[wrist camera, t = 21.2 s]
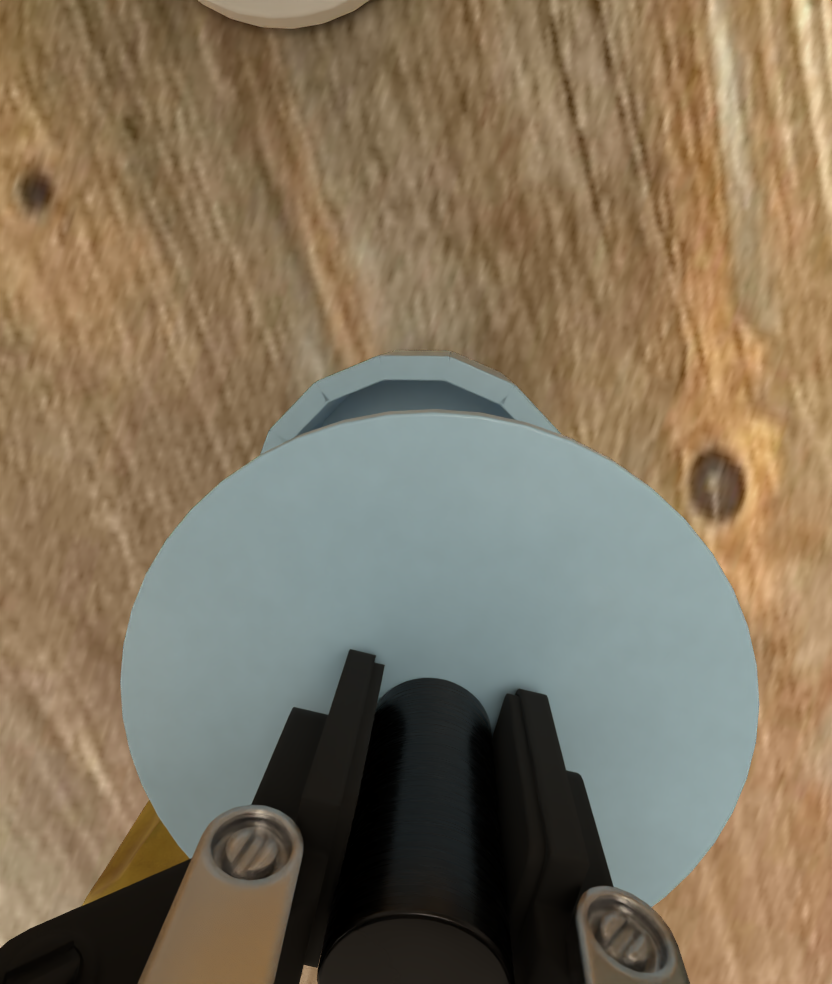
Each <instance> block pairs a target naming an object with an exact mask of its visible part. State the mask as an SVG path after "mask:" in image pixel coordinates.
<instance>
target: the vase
mask: <svg viewBox="0 0 832 984" xmlns="http://www.w3.org/2000/svg"><path fill="white" fill-rule="evenodd" d="M188 859H190V858H189V857H188V856H187V855H186V854H185V853H184V851H183V850H182V849H181V848H180V847H179V846H178V844H177V843H176V842H175V840H174V839H173V837H172V836H171V834H170V833H169V831H168V830H167V828H166V827H165V826H164V824H163V823H162V821H161V820H160V818H159V817H158V815H157V813H156V811H155V809H154V807H153V805H152V803H151V802H150V800H149V801H148V803H147V804H146V806H145V807H144V809H143V810H142V812H141V814H140V815H139V817H138V818H137V820H136V821H135V823H134V825H133V826H132V828H131V829H130V831H129V832H128V834H127V836H126V837H125V839H124V840H123V842H122V844H121V845H120V847H119V848H118V850H117V851H116V853H115V854H114V856H113V858H112V859H111V861H110V862H109V864H108V865H107V867H106V868H105V870H104V872H103V873H102V875H101V876H100V878H99V879H98V881H97V882H96V884H95V885H94V887H93V888H92V889H91V891H90V893H89V894H88V896H87V898H86V899H85V901H84V903H83V905H85V904H88V903H90V902H92V901H95V900H97V899H99V898H101V897H104V896H106V895H108V894H111V893H113V892H115V891H117V890H120V889H122V888H124V887H127V886H129V885H131V884H133V883H136V882H138V881H140V880H143V879H145V878H147V877H149V876H152V875H154V874H156V873H159V872H161V871H163V870H165V869H168V868H170V867H172V866H175V865H177V864H179V863H182V862H184V861H186V860H188ZM83 905H82V906H83Z"/></svg>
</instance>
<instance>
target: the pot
mask: <svg viewBox="0 0 832 984" xmlns="http://www.w3.org/2000/svg"><path fill="white" fill-rule="evenodd" d="M425 409H441V410H454V411H467V412H480V413H485V414H490V415H495V416H499V417H504V418H509V419H514V420H518V421H523V422H527V423H530V424H533V425H536V426H538V427H541V428H544V429H547V430H550V431H553V432H555V433H558V434H561V433H560V432H559V431H558V430H557V429H556V428H555V427H554V426H553V425H552V424H551V422H550V421H549V420H548V419H547V418H546V417H545V416H544V415H543V414H542V413H541V412H540V411H539V410H538V409H537V407H536V406H535V405H534V404H533V403H532V402H531V401H530V400H529V399H528V398H527V397H526V396H525V395H524V394H523V393H522V391H521V390H520V389H519V388H518V387H517V386H516V385H515V384H514V383H512V382H511V381H510V380H509V379H508V378H507V377H505V376H504V375H503V374H502V373H500V372H498V371H496V370H494V369H492V368H489V367H487V366H485V365H482V364H480V363H478V362H476V361H474V360H471V359H469V358H466V357H464V356H462V355H460V354H457V353H455V352H453V351H431V350H396V351H392V352H388V353H385V354H382V355H379V356H376V357H373V358H371V359H369V360H366V361H364V362H361V363H359V364H357V365H354V366H352V367H349V368H347V369H345V370H342V371H340V372H337V373H335V374H333V375H330V376H328V377H325V378H323V379H321V380H318V381H317V382H315V383H313V384H312V386H311V387H310V388H309V389H308V390H307V391H306V392H305V393H304V394H303V395H302V396H301V397H300V398H299V399H298V400H297V401H296V402H295V403H294V404H293V405H292V406H291V407H290V409H289V410H288V411H287V412H286V413H285V414H284V415H283V416H282V417H281V418H280V419H279V420H278V421H277V422H276V423H275V424H274V425H273V426H272V427H271V428H270V430H269V431H268V434H267V437H266V440H265V443H264V445H263V448H262V451H261V454H263V453H264V452H266V451H268V450H270V449H272V448H274V447H276V446H278V445H280V444H282V443H284V442H287V441H289V440H291V439H293V438H295V437H297V436H299V435H301V434H303V433H306V432H309V431H312V430H315V429H318V428H321V427H324V426H327V425H330V424H333V423H336V422H339V421H342V420H346V419H351V418H357V417H362V416H367V415H373V414H378V413H383V412H388V411H406V410H425ZM261 454H260V455H261Z"/></svg>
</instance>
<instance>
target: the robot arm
mask: <svg viewBox="0 0 832 984" xmlns="http://www.w3.org/2000/svg"><path fill="white" fill-rule="evenodd" d="M198 1H199V2H200V3H201V4H203V5H205V6H207V7H209V8H211V9H213V10H215V11H217V12H218V13H220V14H222V15H224V16H226V17H228V18H230V19H233V20H237V21H240V22H244V23H248V24H251V25H255V26H258V27H265V28H285V29H295V28H301V27H306V26H312V25H318V24H324V23H326V22H329V21H331V20H333V19H336V18H338V17H341V16H343V15H345V14H348V13H350V12H353V11H355V10H356V9H357V8H359V7H360V6H362V5H363V4H365V3H366V2H368V1H369V0H198ZM375 658H376V655H373V654H369V653H365V652H361V651H356V650H352V649H349V652H348V655H347V658H346V662H345V665H344V668H343V671H342V674H341V677H340V680H339V683H338V686H337V689H336V692H335V696H334V699H333V702H332V705H331V708H330V711H329V714H328V715H327V714H323V713H318V712H314V711H310V710H306V709H301V708H297V707H293V708H292V710H291V712H290V714H289V717H288V719H287V721H286V724H285V726H284V728H283V731H282V733H281V735H280V738H279V740H278V743H277V745H276V747H275V750H274V752H273V754H272V757H271V759H270V761H269V764H268V766H267V769H266V771H265V773H264V776H263V778H262V780H261V783H260V785H259V787H258V790H257V792H256V794H255V797H254V799H253V802H252V804H251V805H245V806H240V807H235V808H232V809H230V810H228V811H226V812H223V813H221V814H220V815H219V816H218V817H216V818H215V819H214V820H213V821H211V822H210V823H209V825H208V826H207V828H206V829H205V831H204V832H203V834H202V836H201V838H200V841H199V843H198V845H197V847H196V850H195V852H194V854H193V857H192V858H191V859H188V860H186V861H184V862H182V863H179V864H177V865H175V866H172V867H170V868H168V869H165V870H163V871H161V872H159V873H156V874H154V875H152V876H149V877H147V878H145V879H143V880H140V881H138V882H136V883H133V884H131V885H129V886H127V887H124V888H122V889H120V890H117V891H115V892H113V893H111V894H108V895H106V896H104V897H101V898H99V899H97V900H95V901H92V902H90V903H88V904H85V905H83V906H81V907H78V908H76V909H74V910H72V911H69V912H67V913H65V914H62V915H60V916H58V917H56V918H53V919H51V920H49V921H46V922H44V923H42V924H40V925H37V926H35V927H33V928H30V929H28V930H27V931H25V932H23V933H21V934H20V935H18V936H16V937H14V938H13V939H11V940H9V941H8V942H7V943H6V944H4V945H3V946H2V947H1V948H0V984H299V982H300V978H301V974H302V969H303V965H307V966H312V967H316V968H317V967H318V964H319V959H320V955H321V951H322V947H323V942H324V938H325V933H326V928H327V924H328V919H329V914H330V909H331V905H332V900H333V896H334V893H335V891H336V888H337V885H338V881H339V876H340V872H341V868H342V864H343V860H344V856H345V852H346V847H347V843H348V839H349V835H350V831H351V827H352V822H353V818H354V814H355V809H356V805H357V800H358V795H359V790H360V785H361V780H362V776H363V771H364V766H365V761H366V756H367V751H368V746H369V741H370V736H371V731H372V726H373V721H374V716H375V711H376V707H377V702H378V697H379V692H380V687H381V682H382V677H383V672H384V667H385V665H383V664H379V663H375ZM492 744H493V755H494V765H495V776H496V787H497V797H498V808H499V819H500V829H501V840H502V851H503V861H504V872H505V883H506V893H507V904H508V915H509V925H510V936H511V947H512V957H513V968H514V979H515V984H690V982H689V979H688V976H687V973H686V970H685V966H684V963H683V960H682V957H681V954H680V951H679V948H678V945H677V943H676V940H675V938H674V936H673V934H672V932H671V930H670V928H669V927H668V926H667V924H666V923H665V922H664V920H663V919H662V918H661V916H660V915H659V914H658V913H657V912H656V911H654V910H653V909H652V908H651V907H650V906H649V905H648V904H647V903H646V902H644V901H643V900H641V899H639V898H638V897H636V896H635V895H633V894H632V893H629V892H627V891H624V890H622V889H619V888H617V887H614V886H613V883H612V879H611V876H610V872H609V869H608V865H607V862H606V858H605V855H604V851H603V848H602V844H601V841H600V837H599V834H598V830H597V827H596V823H595V820H594V816H593V813H592V809H591V806H590V802H589V799H588V795H587V791H586V788H585V784H584V781H583V779H582V777H581V775H580V774H579V773H576V772H572V771H568V770H566V767H565V764H564V760H563V756H562V752H561V748H560V744H559V740H558V736H557V732H556V728H555V724H554V720H553V716H552V712H551V708H550V704H549V700H548V697H547V695H545V694H541V693H537V692H532V691H528V690H524V689H520V688H519V689H517V691H516V693H515V695H512V694H508V693H507V694H506V696H505V698H504V700H503V704H502V707H501V710H500V714H499V717H498V720H497V724H496V727H495V730H494V734H493V737H492Z"/></svg>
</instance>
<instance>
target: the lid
mask: <svg viewBox="0 0 832 984" xmlns="http://www.w3.org/2000/svg"><path fill="white" fill-rule="evenodd" d="M349 649H352V650H356V651H361V652H365V653H369V654H373V655H376V658H375V663H379V664H383V665H385V667H384V672H383V677H382V682H381V687H380V692H379V697H378V702H377V707H376V711H375V716H374V721H373V726H372V731H371V736H370V741H369V746H368V751H367V756H366V761H365V766H364V771H363V776H362V780H361V785H360V790H359V795H358V800H357V805H356V809H355V814H354V818H353V822H352V827H351V831H350V835H349V839H348V843H347V847H346V852H345V856H344V860H343V864H342V868H341V872H340V876H339V881H338V885H337V888H336V891H335V893H334V896H333V900H332V905H331V909H330V914H329V919H328V924H327V928H326V933H325V938H324V942H323V947H322V952H321V957H320V961H319V966H318V973H317V982H318V984H515V979H514V968H513V957H512V947H511V936H510V925H509V915H508V904H507V893H506V883H505V872H504V861H503V851H502V840H501V829H500V819H499V808H498V797H497V787H496V776H495V765H494V755H493V744H492V737H493V734H494V730H495V727H496V724H497V720H498V717H499V714H500V710H501V707H502V704H503V700H504V698H505V696H506V694H507V693H508V694H512V695H515V693H516V691H517V689H519V688H520V689H524V690H528V691H532V692H537V693H541V694H545V695H547V697H548V700H549V704H550V708H551V712H552V716H553V720H554V724H555V728H556V732H557V736H558V740H559V744H560V748H561V752H562V756H563V760H564V764H565V767H566V770H568V771H572V772H576V773H579V774H580V775H581V777H582V779H583V781H584V784H585V788H586V791H587V795H588V799H589V802H590V806H591V809H592V813H593V816H594V820H595V823H596V827H597V830H598V834H599V837H600V841H601V844H602V848H603V851H604V855H605V858H606V862H607V865H608V869H609V872H610V876H611V879H612V883H613V886H614V887H617V888H619V889H622V890H624V891H627V892H629V893H632V894H633V895H635V896H636V897H638V898H639V899H641V900H643V901H644V902H646V903H647V904H648V905H649V906H650V907H652V906H654V905H655V904H656V903H658V902H659V901H660V900H662V899H663V898H664V897H666V896H667V895H668V894H669V893H670V892H671V891H672V890H673V889H674V888H675V887H676V886H677V885H678V884H679V883H680V882H681V881H682V880H683V879H684V878H685V877H687V876H688V875H689V874H690V873H691V872H692V871H693V869H694V868H695V867H696V866H697V864H698V863H699V862H700V861H701V859H702V858H703V857H704V856H705V854H706V853H707V852H708V851H709V849H710V848H711V847H712V846H713V844H714V843H715V841H716V840H717V838H718V836H719V835H720V833H721V831H722V830H723V828H724V826H725V824H726V823H727V821H728V819H729V818H730V816H731V814H732V813H733V811H734V808H735V806H736V803H737V801H738V799H739V796H740V794H741V791H742V789H743V786H744V784H745V782H746V779H747V776H748V772H749V768H750V764H751V760H752V756H753V752H754V748H755V744H756V735H757V724H758V713H759V693H758V678H757V664H756V660H755V656H754V651H753V647H752V642H751V638H750V633H749V629H748V625H747V623H746V620H745V618H744V615H743V613H742V610H741V608H740V605H739V603H738V600H737V598H736V595H735V592H734V590H733V588H732V586H731V584H730V583H729V581H728V579H727V578H726V576H725V574H724V572H723V571H722V569H721V567H720V566H719V564H718V562H717V560H716V559H715V557H714V555H713V554H712V552H711V551H710V550H709V548H708V547H707V546H706V545H705V543H704V542H703V541H702V540H701V538H700V537H699V536H698V535H697V533H696V532H695V531H694V530H693V528H692V527H691V526H690V525H689V523H688V522H687V521H686V520H685V519H684V518H683V517H682V516H681V515H680V514H679V513H678V512H677V511H676V510H675V509H674V508H673V507H671V506H670V505H669V504H668V503H667V502H666V501H665V500H664V499H663V498H662V497H661V496H660V495H659V494H658V493H656V492H655V491H654V490H653V489H652V488H651V487H650V486H648V485H647V484H646V483H645V482H643V481H642V480H640V479H639V478H637V477H636V476H635V475H633V474H632V473H630V472H629V471H627V470H626V469H625V468H623V467H622V466H620V465H619V464H617V463H616V462H614V461H613V460H612V459H610V458H609V457H607V456H605V455H603V454H601V453H599V452H597V451H595V450H593V449H591V448H589V447H587V446H585V445H583V444H581V443H579V442H577V441H575V440H573V439H571V438H569V437H567V436H564V435H561V434H558V433H555V432H553V431H550V430H547V429H544V428H541V427H538V426H536V425H533V424H530V423H527V422H523V421H518V420H514V419H509V418H504V417H499V416H495V415H490V414H485V413H480V412H467V411H454V410H441V409H425V410H406V411H388V412H383V413H378V414H373V415H367V416H362V417H357V418H351V419H346V420H342V421H339V422H336V423H333V424H330V425H327V426H324V427H321V428H318V429H315V430H312V431H309V432H306V433H303V434H301V435H299V436H297V437H295V438H293V439H291V440H289V441H287V442H284V443H282V444H280V445H278V446H276V447H274V448H272V449H270V450H268V451H266V452H264V453H263V454H261V455H259V456H258V457H256V458H255V459H254V460H252V461H251V462H249V463H248V464H246V465H245V466H243V467H242V468H240V469H239V470H237V471H236V472H234V473H233V474H231V475H230V476H229V477H227V478H226V479H224V480H223V481H221V482H220V483H219V484H218V485H217V486H216V487H215V488H214V489H213V490H212V491H210V492H209V493H208V494H207V495H206V496H205V497H204V498H203V499H202V500H201V501H199V502H198V503H197V504H196V505H195V506H194V507H193V508H192V509H191V510H190V511H189V512H188V514H187V515H186V516H185V517H184V519H183V520H182V521H181V522H180V523H179V525H178V526H177V527H176V528H175V530H174V531H173V532H172V533H171V534H170V536H169V537H168V538H167V539H166V541H165V543H164V544H163V546H162V548H161V549H160V551H159V553H158V554H157V556H156V558H155V559H154V561H153V563H152V564H151V566H150V568H149V570H148V571H147V573H146V575H145V578H144V580H143V583H142V585H141V588H140V590H139V593H138V595H137V598H136V600H135V602H134V605H133V607H132V611H131V615H130V619H129V624H128V628H127V632H126V636H125V641H124V645H123V656H122V668H121V681H120V683H121V698H122V714H123V721H124V726H125V730H126V735H127V740H128V745H129V749H130V753H131V756H132V759H133V761H134V764H135V767H136V770H137V773H138V775H139V778H140V781H141V784H142V786H143V788H144V790H145V792H146V794H147V796H148V798H149V800H150V802H151V803H152V805H153V807H154V809H155V811H156V813H157V815H158V817H159V818H160V820H161V821H162V823H163V824H164V826H165V827H166V828H167V830H168V831H169V833H170V834H171V836H172V837H173V839H174V840H175V842H176V843H177V844H178V846H179V847H180V848H181V849H182V850H183V851H184V853H185V854H186V855H187V856H188V857H189V858H190V859H191V858H192V857H193V854H194V852H195V850H196V847H197V845H198V843H199V841H200V838H201V836H202V834H203V832H204V831H205V829H206V828H207V826H208V825H209V823H210V822H211V821H213V820H214V819H215V818H216V817H218V816H219V815H220V814H221V813H223V812H226V811H228V810H230V809H232V808H235V807H240V806H245V805H251V804H252V802H253V799H254V797H255V794H256V792H257V790H258V787H259V785H260V783H261V780H262V778H263V776H264V773H265V771H266V769H267V766H268V764H269V761H270V759H271V757H272V754H273V752H274V750H275V747H276V745H277V743H278V740H279V738H280V735H281V733H282V731H283V728H284V726H285V724H286V721H287V719H288V717H289V714H290V712H291V710H292V708H293V707H297V708H301V709H306V710H310V711H314V712H318V713H323V714H327V715H328V714H329V711H330V708H331V705H332V702H333V699H334V696H335V692H336V689H337V686H338V683H339V680H340V677H341V674H342V671H343V668H344V665H345V662H346V658H347V655H348V652H349Z"/></svg>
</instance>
